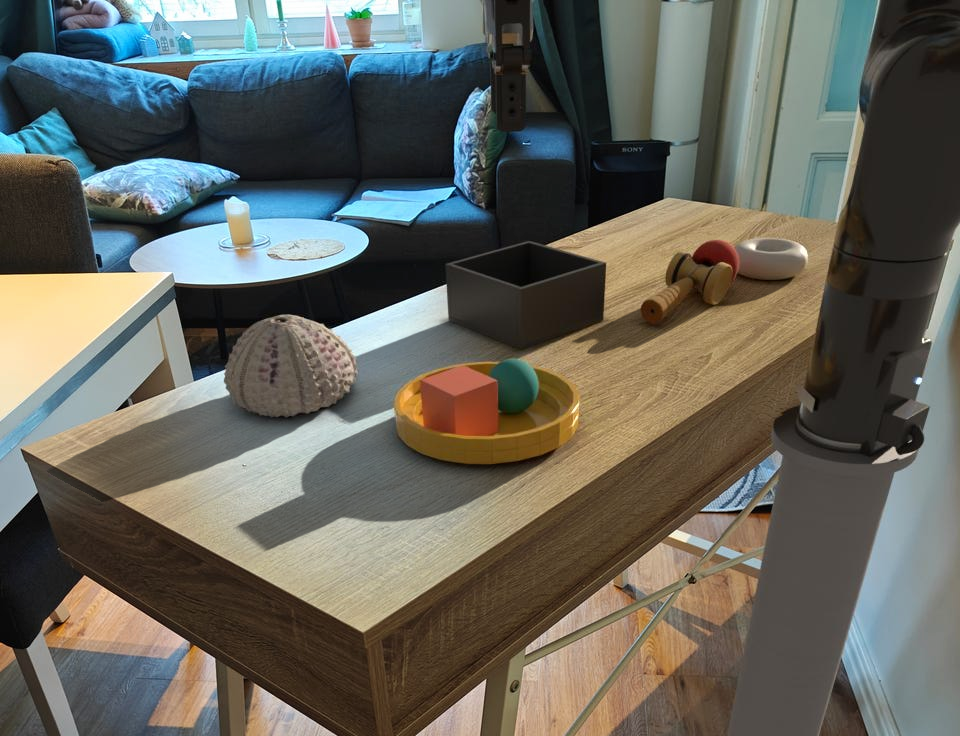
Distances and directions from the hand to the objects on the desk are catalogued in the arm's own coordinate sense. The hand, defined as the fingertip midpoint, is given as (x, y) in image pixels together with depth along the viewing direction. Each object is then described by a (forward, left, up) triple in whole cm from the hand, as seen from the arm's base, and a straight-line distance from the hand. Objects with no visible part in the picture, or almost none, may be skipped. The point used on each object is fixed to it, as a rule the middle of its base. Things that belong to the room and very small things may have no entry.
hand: (507, 121), depth 71 cm
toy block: (-1, +7, -24) cm, 25 cm away
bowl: (-1, +4, -25) cm, 25 cm away
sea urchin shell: (+18, +14, -25) cm, 34 cm away
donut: (+9, -53, -25) cm, 60 cm away
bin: (+18, -18, -25) cm, 36 cm away
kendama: (+8, -36, -25) cm, 45 cm away
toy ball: (-1, 0, -24) cm, 24 cm away
